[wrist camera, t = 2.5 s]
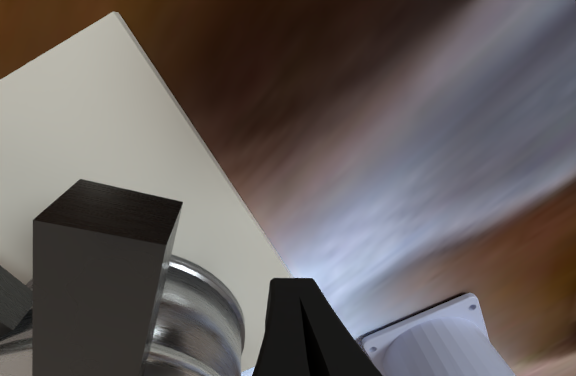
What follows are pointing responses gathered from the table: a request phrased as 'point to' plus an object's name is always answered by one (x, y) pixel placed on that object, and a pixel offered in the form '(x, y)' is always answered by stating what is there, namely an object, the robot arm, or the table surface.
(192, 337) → the pot
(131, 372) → the lid
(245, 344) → the plate
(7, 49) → the table surface
